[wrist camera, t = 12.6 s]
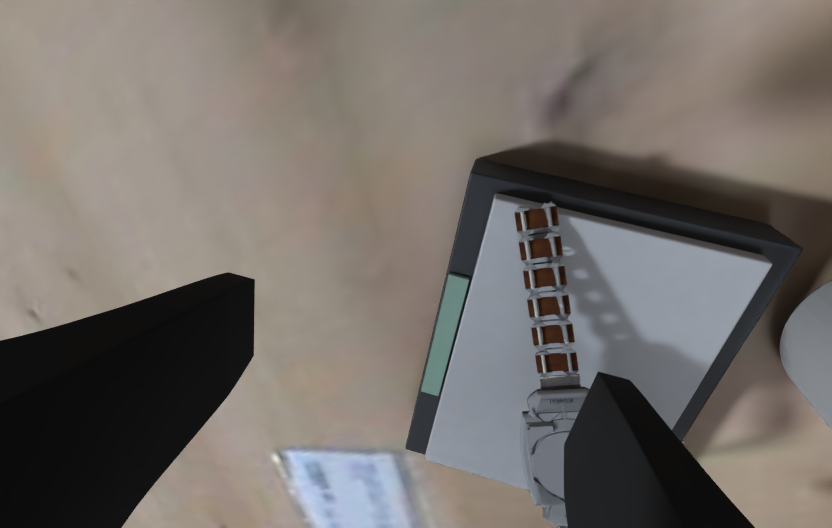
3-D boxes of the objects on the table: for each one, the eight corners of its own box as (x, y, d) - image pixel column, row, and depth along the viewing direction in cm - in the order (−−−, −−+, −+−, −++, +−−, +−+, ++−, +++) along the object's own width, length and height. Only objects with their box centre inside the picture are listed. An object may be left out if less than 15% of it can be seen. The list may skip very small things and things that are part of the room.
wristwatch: (542, 520, 21) (543, 614, 16) (496, 208, 20) (481, 212, 15) (627, 521, 20) (654, 623, 15) (584, 194, 19) (599, 193, 14)
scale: (624, 477, 23) (637, 531, 20) (414, 416, 24) (401, 461, 22) (771, 224, 17) (817, 257, 14) (476, 157, 18) (468, 176, 15)
